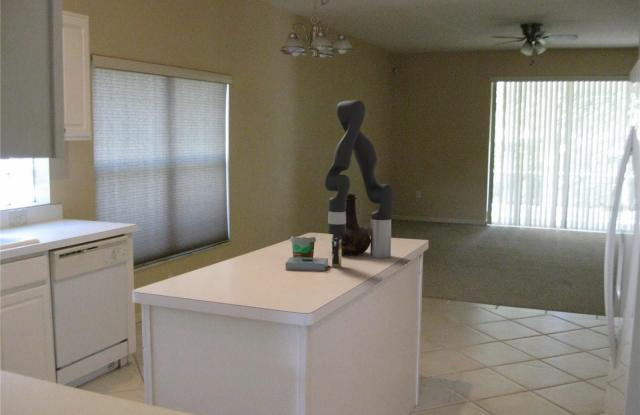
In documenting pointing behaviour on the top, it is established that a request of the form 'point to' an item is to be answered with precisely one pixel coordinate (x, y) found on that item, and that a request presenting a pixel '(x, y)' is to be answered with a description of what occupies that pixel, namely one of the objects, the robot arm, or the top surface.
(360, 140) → the robot arm
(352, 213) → the glass bottle
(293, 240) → the food container
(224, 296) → the top surface
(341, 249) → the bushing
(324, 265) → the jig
